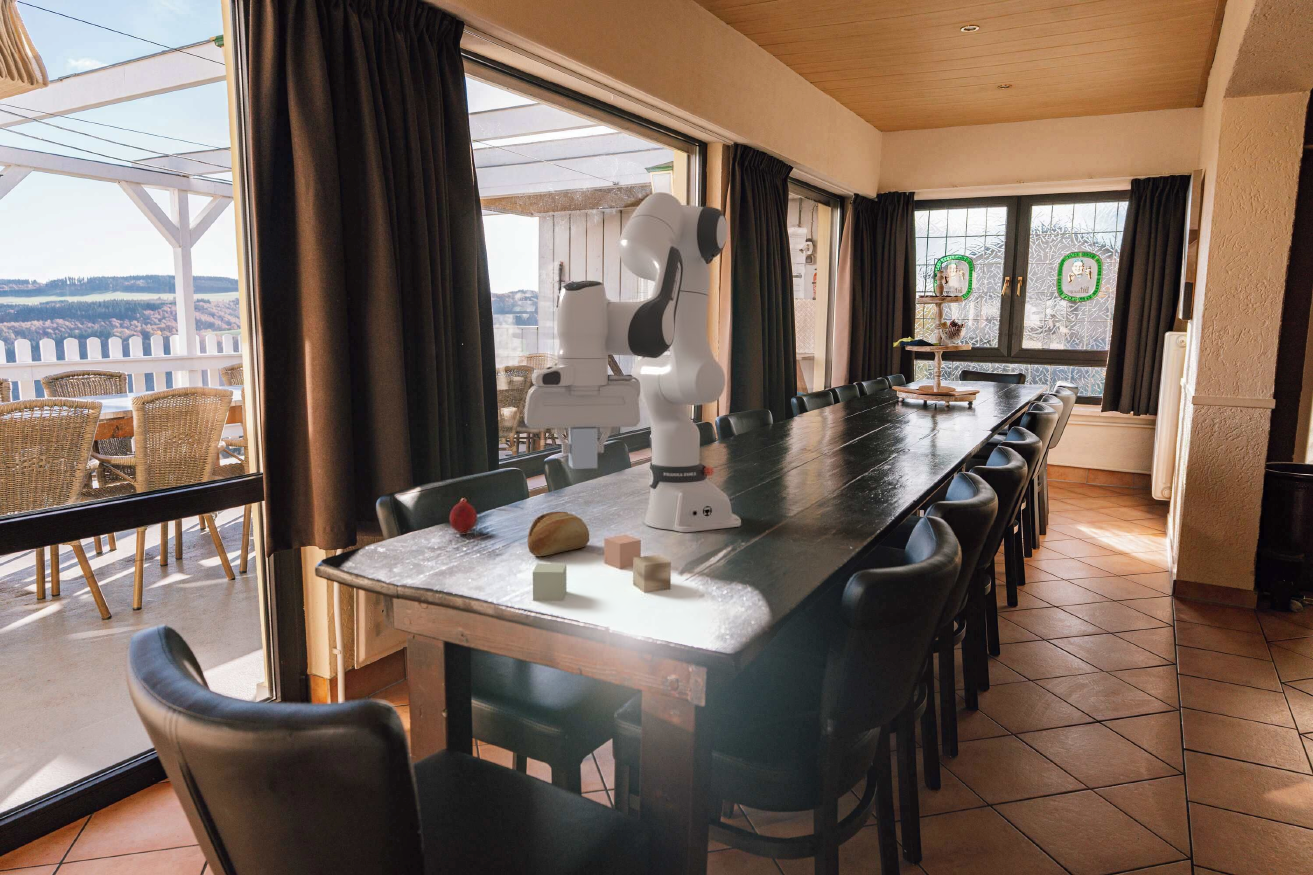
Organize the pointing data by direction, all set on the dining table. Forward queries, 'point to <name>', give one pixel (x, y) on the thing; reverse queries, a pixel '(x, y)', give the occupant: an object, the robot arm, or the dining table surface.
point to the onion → (463, 517)
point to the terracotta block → (621, 551)
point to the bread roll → (557, 533)
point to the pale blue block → (583, 448)
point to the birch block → (651, 573)
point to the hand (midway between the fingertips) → (582, 452)
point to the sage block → (549, 582)
